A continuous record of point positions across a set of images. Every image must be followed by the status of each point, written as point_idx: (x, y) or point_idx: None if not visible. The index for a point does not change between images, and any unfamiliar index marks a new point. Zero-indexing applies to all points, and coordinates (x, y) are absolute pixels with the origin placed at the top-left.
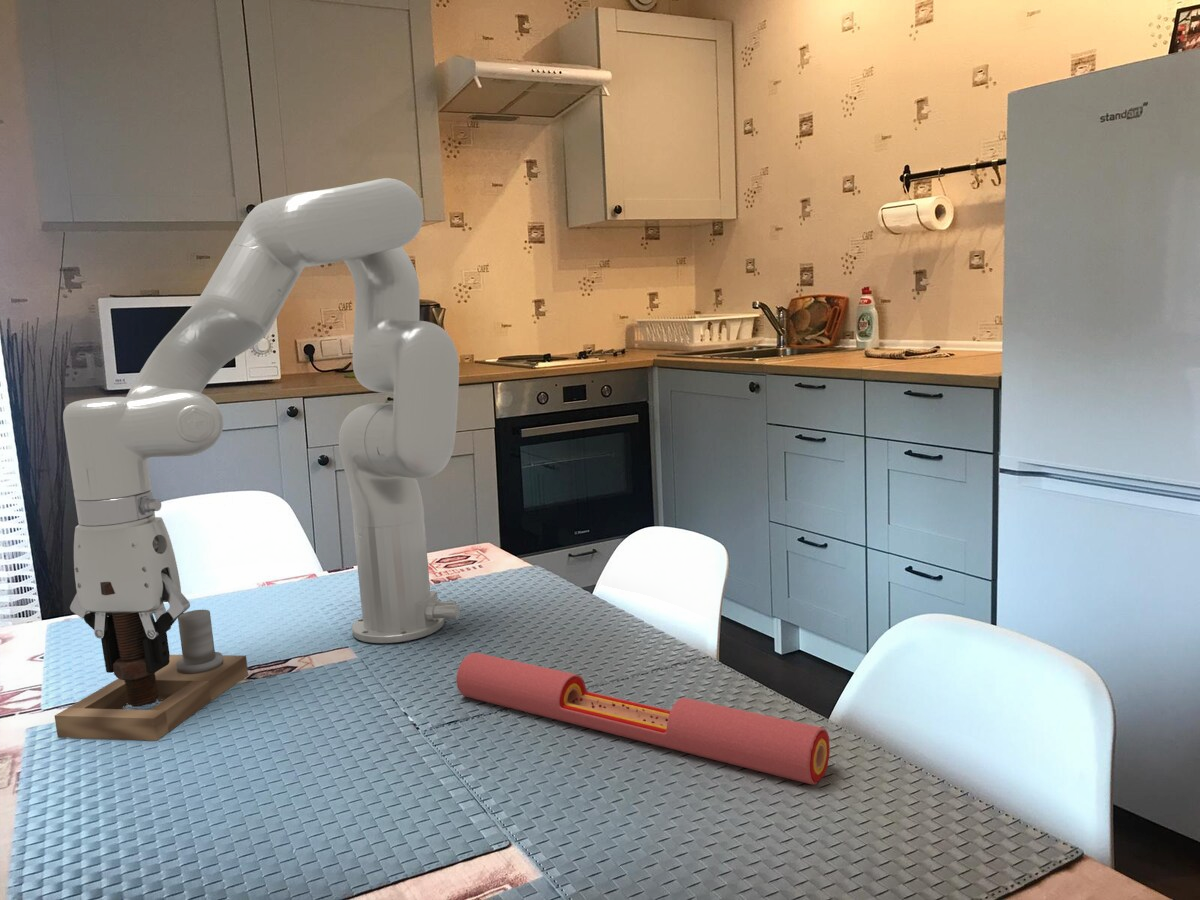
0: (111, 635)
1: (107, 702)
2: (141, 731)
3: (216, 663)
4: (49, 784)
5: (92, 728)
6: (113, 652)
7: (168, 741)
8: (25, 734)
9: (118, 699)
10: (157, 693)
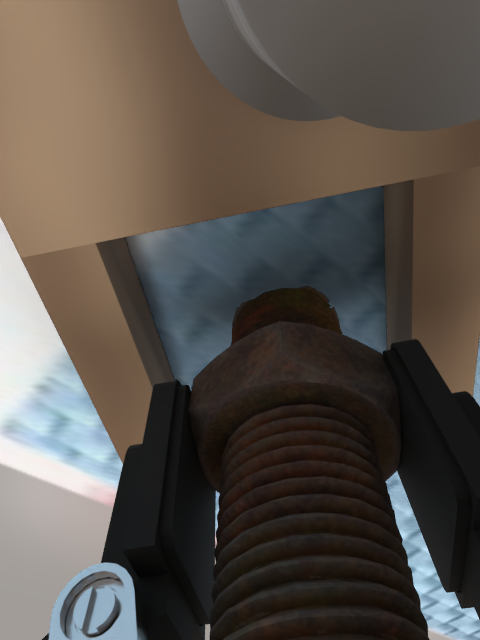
0: (192, 623)
1: (151, 356)
2: None
3: None
4: None
5: None
6: (208, 529)
7: (473, 392)
8: (41, 453)
9: (135, 303)
10: (334, 313)
